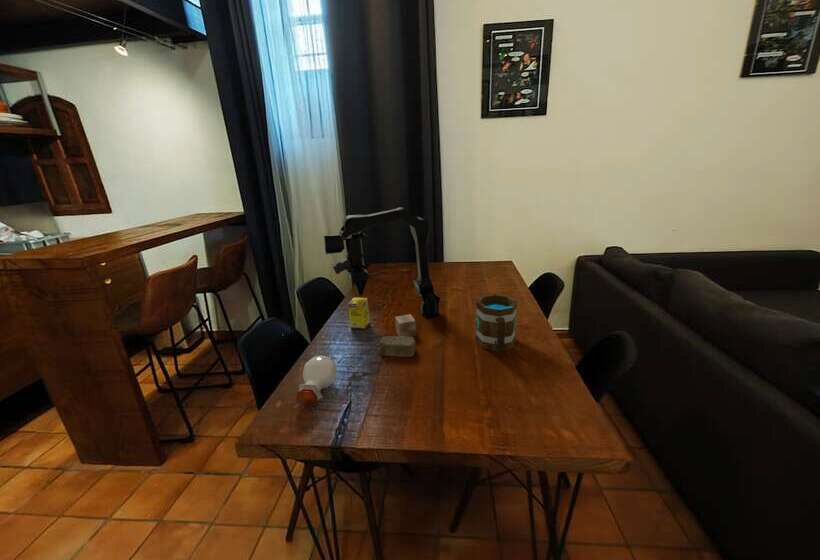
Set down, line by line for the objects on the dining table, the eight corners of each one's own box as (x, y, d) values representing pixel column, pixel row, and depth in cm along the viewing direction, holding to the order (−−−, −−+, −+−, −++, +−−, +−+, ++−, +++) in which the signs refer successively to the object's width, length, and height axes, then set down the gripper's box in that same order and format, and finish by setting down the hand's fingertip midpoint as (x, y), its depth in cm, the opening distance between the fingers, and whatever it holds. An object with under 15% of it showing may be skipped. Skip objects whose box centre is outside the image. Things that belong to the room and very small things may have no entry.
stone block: (383, 347, 119) (382, 335, 117) (416, 348, 117) (415, 335, 115) (379, 357, 113) (378, 343, 111) (414, 358, 112) (414, 344, 110)
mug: (473, 331, 126) (474, 293, 121) (511, 332, 124) (513, 293, 119) (478, 362, 107) (479, 318, 102) (522, 362, 106) (526, 318, 101)
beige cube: (411, 328, 131) (410, 314, 129) (416, 335, 126) (415, 320, 124) (396, 331, 129) (395, 316, 127) (400, 338, 124) (399, 323, 122)
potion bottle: (333, 378, 105) (315, 417, 92) (305, 363, 104) (283, 400, 91) (346, 359, 101) (330, 397, 88) (317, 343, 100) (296, 379, 87)
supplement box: (365, 330, 131) (362, 303, 128) (350, 329, 132) (347, 303, 129) (370, 323, 137) (367, 297, 133) (356, 322, 138) (353, 297, 134)
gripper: (329, 247, 131) (334, 286, 136) (334, 260, 114) (339, 303, 119) (359, 244, 134) (362, 282, 139) (367, 256, 117) (371, 298, 122)
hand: (358, 291), depth 130 cm, fingers open, 9 cm apart
